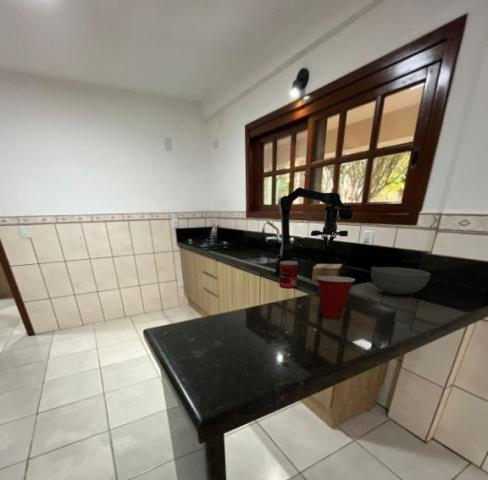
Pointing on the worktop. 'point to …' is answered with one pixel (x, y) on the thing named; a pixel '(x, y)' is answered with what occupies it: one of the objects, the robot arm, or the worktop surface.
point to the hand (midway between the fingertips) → (327, 250)
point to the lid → (327, 266)
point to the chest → (324, 273)
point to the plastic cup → (333, 294)
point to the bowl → (399, 279)
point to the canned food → (288, 274)
